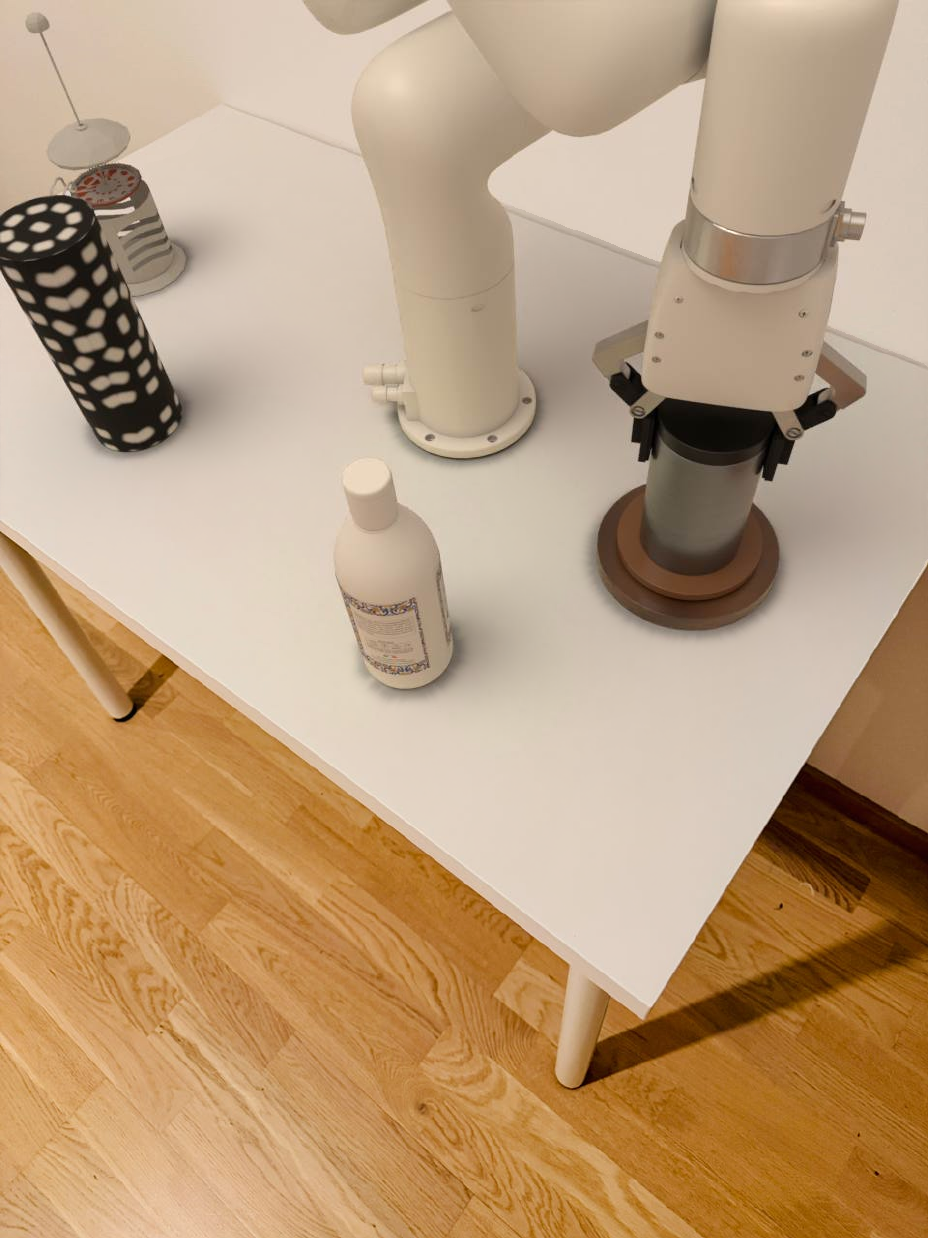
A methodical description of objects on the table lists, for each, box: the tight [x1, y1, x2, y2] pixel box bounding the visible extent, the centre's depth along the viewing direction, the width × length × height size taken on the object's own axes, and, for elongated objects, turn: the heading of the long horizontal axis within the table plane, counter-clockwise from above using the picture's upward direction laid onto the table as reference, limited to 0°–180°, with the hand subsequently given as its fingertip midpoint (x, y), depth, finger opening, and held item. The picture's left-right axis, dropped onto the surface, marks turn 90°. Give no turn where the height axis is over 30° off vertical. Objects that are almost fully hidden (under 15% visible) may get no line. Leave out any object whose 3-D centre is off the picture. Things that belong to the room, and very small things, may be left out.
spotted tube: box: [0, 194, 183, 453], centre depth 77 cm, size 8×8×20 cm
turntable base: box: [595, 483, 781, 631], centre depth 71 cm, size 14×14×2 cm
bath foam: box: [333, 457, 454, 690], centre depth 61 cm, size 7×7×20 cm
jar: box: [617, 397, 776, 600], centre depth 65 cm, size 11×12×14 cm
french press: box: [24, 12, 187, 297], centre depth 87 cm, size 10×12×25 cm
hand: (706, 455), depth 62 cm, fingers closed on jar, 7 cm apart
